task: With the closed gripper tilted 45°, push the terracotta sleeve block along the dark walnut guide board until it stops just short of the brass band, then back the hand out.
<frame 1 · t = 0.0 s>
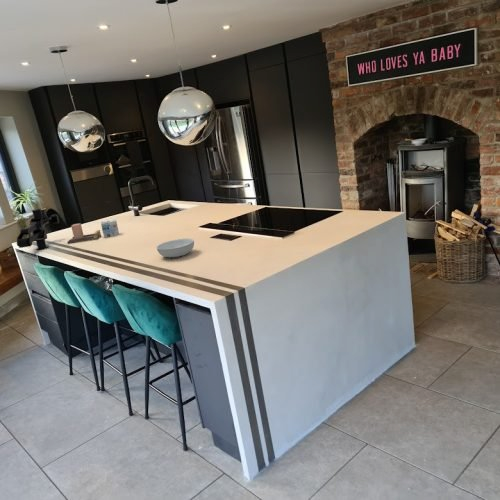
hand: (49, 218, 352), 17 cm above the table, tool horizontal, fingers open, 9 cm apart
light bulb box: (111, 236, 341), on the table
marker sleeve: (77, 231, 338), point 7 cm above the table, slide at 0.0 cm
serving bowl: (177, 255, 265), on the table
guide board: (84, 239, 340), on the table
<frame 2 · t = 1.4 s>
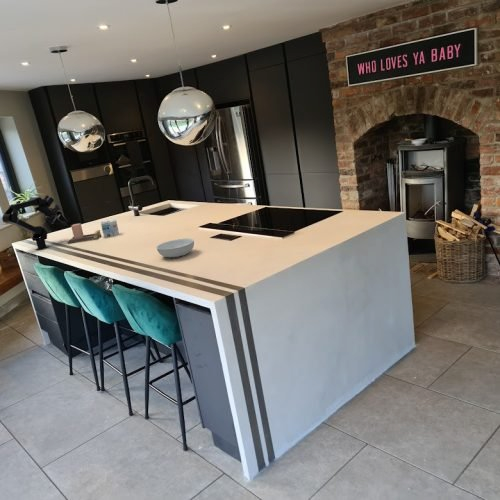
hand: (66, 223, 338), 13 cm above the table, tool tilted 45°, fingers open, 9 cm apart
nothing on the table moved.
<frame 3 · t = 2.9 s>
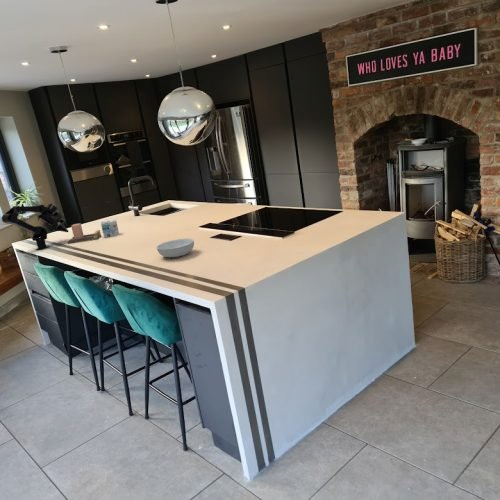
hand: (68, 231, 338), 8 cm above the table, tool tilted 45°, fingers closed
nothing on the table moved.
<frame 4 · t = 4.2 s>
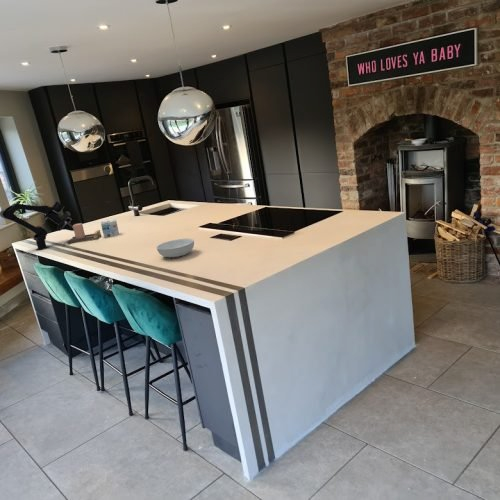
hand: (74, 230, 338), 8 cm above the table, tool tilted 45°, fingers closed, pressing on marker sleeve
marker sleeve: (79, 231, 338), point 7 cm above the table, slide at 1.0 cm, touching gripper
everything else where it was.
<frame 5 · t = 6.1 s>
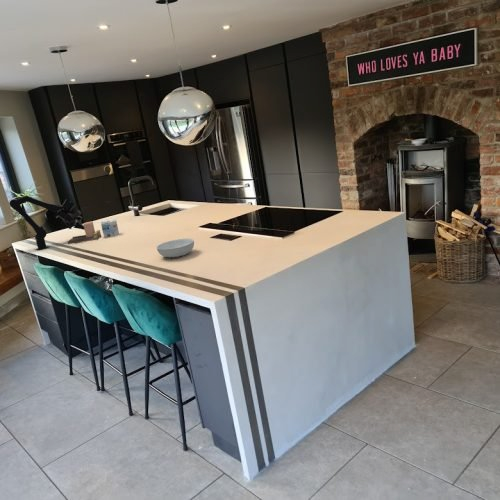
hand: (85, 229, 338), 8 cm above the table, tool tilted 45°, fingers closed, pressing on marker sleeve
marker sleeve: (89, 229, 339), point 7 cm above the table, slide at 8.6 cm, touching gripper
everything else where it was.
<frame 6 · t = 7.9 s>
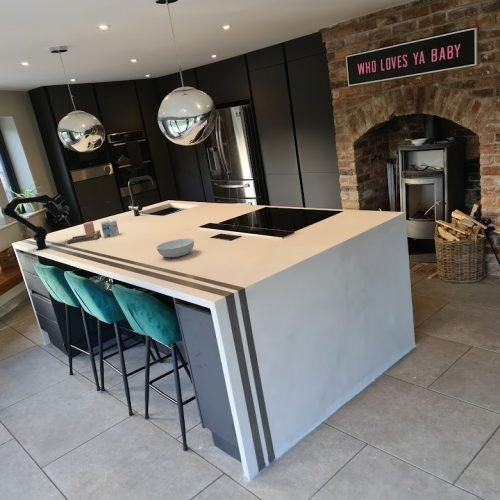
hand: (69, 225, 337), 12 cm above the table, tool tilted 30°, fingers closed
marker sleeve: (89, 229, 339), point 7 cm above the table, slide at 8.6 cm
everything else where it was.
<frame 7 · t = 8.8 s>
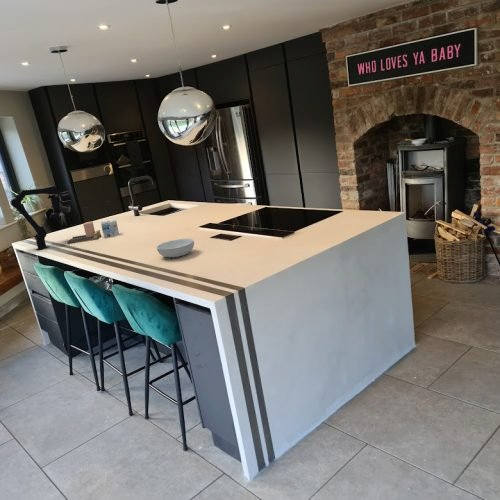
hand: (61, 225, 337), 13 cm above the table, tool pointing down, fingers closed
nothing on the table moved.
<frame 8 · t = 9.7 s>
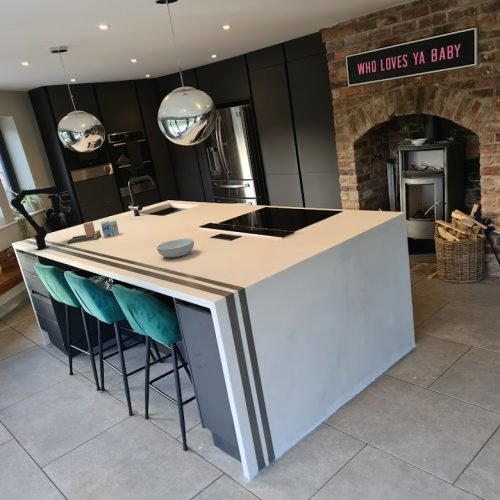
hand: (61, 225, 337), 13 cm above the table, tool pointing down, fingers closed
nothing on the table moved.
at the end: marker sleeve slide at 8.6 cm; light bulb box moved 0.3 cm from its start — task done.
